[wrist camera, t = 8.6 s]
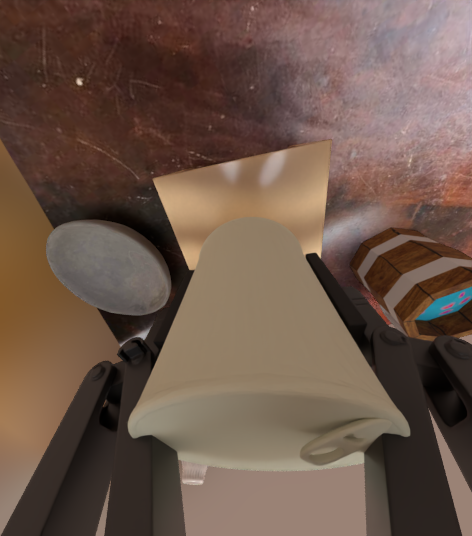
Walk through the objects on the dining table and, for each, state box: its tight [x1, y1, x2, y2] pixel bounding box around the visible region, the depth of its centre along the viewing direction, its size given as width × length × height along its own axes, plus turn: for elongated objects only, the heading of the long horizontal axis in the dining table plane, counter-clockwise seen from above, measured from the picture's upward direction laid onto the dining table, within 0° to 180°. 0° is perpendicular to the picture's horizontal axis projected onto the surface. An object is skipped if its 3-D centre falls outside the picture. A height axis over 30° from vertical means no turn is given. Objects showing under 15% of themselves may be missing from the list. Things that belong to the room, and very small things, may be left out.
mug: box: [350, 228, 472, 341], centre depth 31 cm, size 20×14×15 cm
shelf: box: [153, 139, 332, 270], centre depth 26 cm, size 16×18×12 cm
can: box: [128, 217, 410, 471], centre depth 11 cm, size 9×9×12 cm
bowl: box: [46, 220, 171, 315], centre depth 35 cm, size 21×21×8 cm
